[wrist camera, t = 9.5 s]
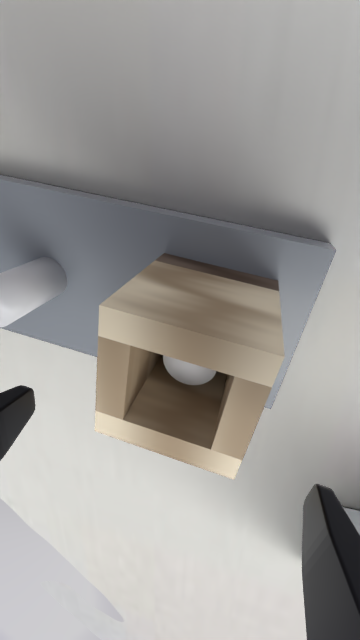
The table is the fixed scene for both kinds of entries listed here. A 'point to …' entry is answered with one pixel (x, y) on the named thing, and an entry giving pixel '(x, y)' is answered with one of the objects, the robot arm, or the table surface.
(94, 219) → the pin board
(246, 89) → the table surface
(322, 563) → the robot arm
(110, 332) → the sleeve
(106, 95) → the table surface
